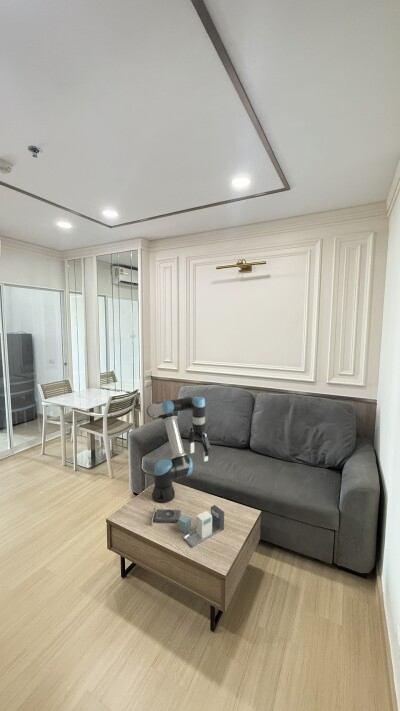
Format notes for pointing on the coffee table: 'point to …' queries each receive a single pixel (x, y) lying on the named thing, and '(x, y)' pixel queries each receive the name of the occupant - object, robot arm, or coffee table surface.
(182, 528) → the block
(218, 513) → the rail
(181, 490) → the coffee table surface
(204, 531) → the block
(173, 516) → the graphics card
